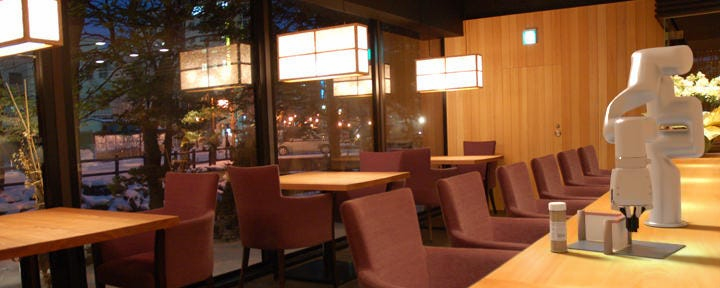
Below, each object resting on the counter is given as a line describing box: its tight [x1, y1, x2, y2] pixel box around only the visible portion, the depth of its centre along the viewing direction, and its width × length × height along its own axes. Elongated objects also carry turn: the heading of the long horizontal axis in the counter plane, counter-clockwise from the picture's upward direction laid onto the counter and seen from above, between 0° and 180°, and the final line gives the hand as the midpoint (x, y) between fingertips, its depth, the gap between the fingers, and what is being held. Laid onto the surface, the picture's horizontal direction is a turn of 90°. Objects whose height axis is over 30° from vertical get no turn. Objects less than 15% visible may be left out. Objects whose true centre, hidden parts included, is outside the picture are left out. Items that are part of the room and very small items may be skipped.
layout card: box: [567, 239, 686, 260], centre depth 169 cm, size 20×26×1 cm
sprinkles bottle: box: [548, 201, 568, 254], centre depth 167 cm, size 5×5×14 cm
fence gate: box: [612, 214, 628, 250], centre depth 166 cm, size 10×2×8 cm, turn 142°
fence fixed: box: [576, 209, 633, 256], centre depth 171 cm, size 16×15×9 cm
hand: (632, 231), depth 164 cm, fingers closed
